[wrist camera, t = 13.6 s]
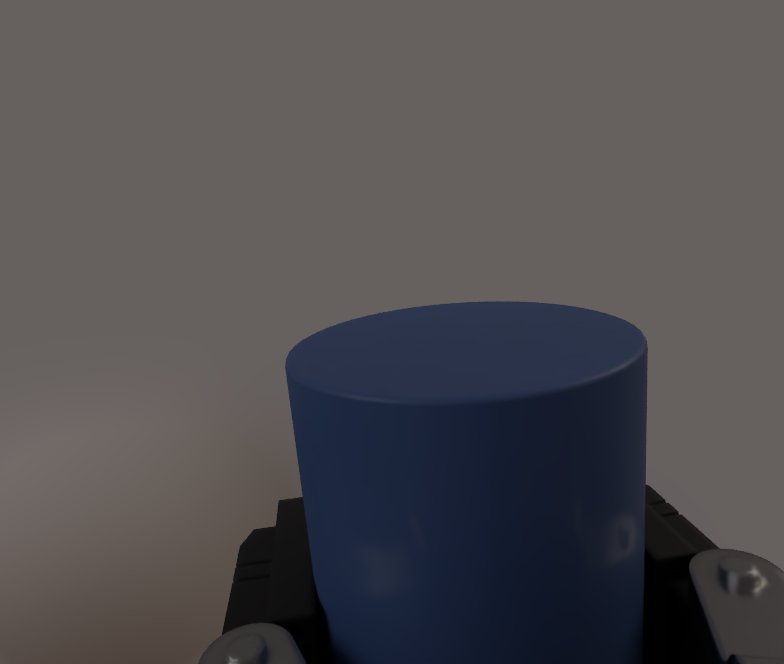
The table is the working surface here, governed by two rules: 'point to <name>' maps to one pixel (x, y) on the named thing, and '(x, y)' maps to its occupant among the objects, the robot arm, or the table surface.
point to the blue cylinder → (475, 484)
